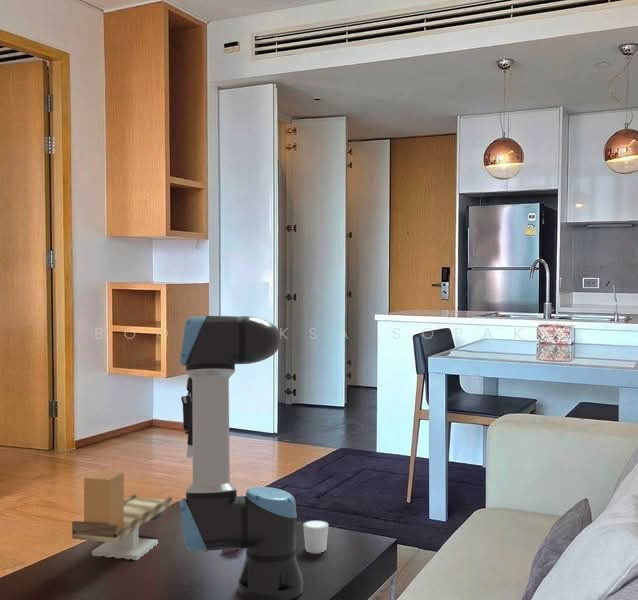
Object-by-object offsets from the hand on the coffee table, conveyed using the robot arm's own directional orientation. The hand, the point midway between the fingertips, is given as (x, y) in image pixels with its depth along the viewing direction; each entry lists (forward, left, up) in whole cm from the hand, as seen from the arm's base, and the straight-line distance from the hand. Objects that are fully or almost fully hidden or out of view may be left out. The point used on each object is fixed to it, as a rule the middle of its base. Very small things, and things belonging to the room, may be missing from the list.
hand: (191, 457), depth 208 cm
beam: (-17, +12, -16) cm, 26 cm away
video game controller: (-8, -17, -22) cm, 29 cm away
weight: (-29, +11, -13) cm, 33 cm away
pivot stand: (-17, +12, -22) cm, 30 cm away
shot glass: (-4, -38, -22) cm, 44 cm away
